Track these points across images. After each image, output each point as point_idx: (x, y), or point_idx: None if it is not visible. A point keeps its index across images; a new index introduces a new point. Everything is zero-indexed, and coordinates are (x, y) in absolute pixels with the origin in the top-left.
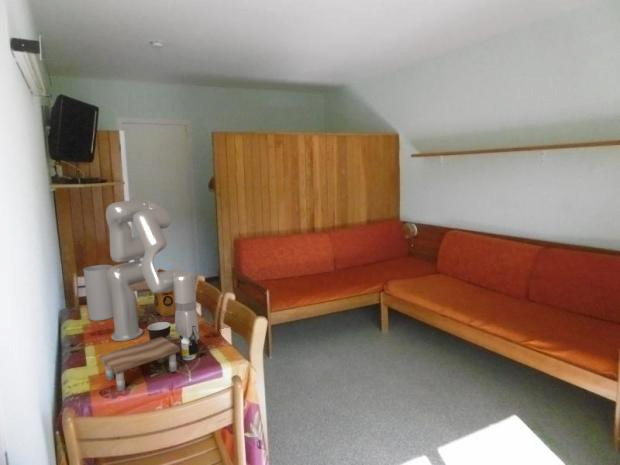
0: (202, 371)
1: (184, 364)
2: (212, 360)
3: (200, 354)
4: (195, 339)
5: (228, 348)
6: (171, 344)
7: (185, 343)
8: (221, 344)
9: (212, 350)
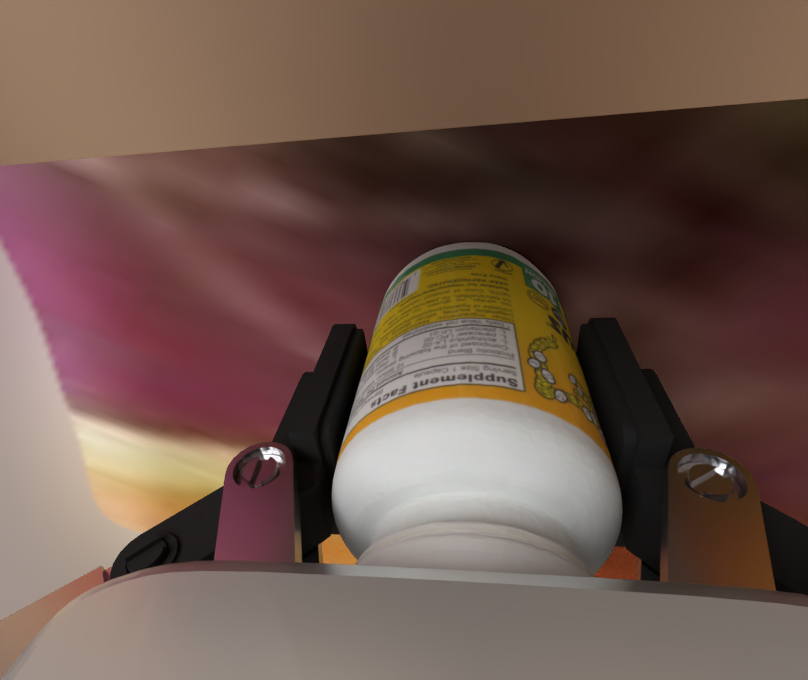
0: (37, 265)
1: (319, 191)
2: (245, 424)
3: None
4: (38, 613)
5: None
6: (75, 21)
7: (372, 431)
8: None
9: None
